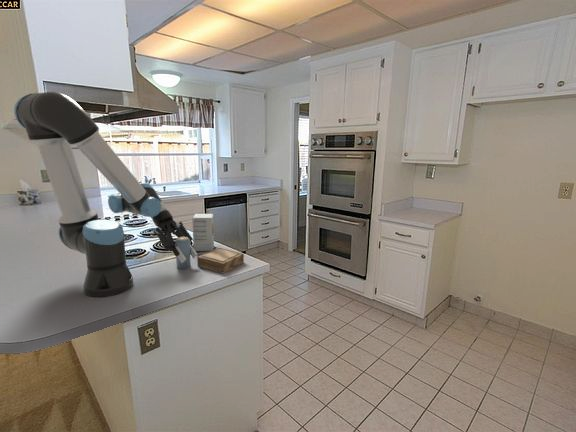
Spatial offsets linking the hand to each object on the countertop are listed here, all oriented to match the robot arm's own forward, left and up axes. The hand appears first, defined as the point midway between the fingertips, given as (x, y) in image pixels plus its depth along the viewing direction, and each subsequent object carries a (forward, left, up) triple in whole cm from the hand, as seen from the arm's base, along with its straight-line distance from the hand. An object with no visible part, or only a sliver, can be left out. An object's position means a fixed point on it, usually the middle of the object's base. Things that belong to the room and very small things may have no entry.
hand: (189, 258), depth 124 cm
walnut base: (+11, -7, -4) cm, 14 cm away
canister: (0, +4, -4) cm, 6 cm away
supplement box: (+22, +13, -5) cm, 26 cm away
